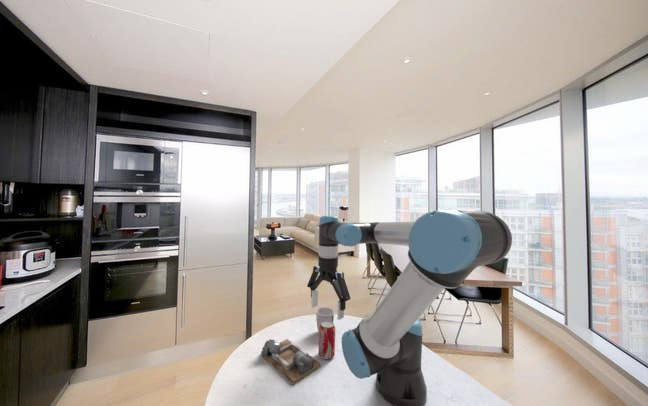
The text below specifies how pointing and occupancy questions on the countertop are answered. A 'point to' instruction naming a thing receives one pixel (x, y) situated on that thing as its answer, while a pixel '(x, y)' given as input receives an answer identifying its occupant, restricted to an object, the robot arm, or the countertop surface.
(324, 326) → the beverage can
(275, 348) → the shaft
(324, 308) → the cup
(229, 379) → the countertop surface
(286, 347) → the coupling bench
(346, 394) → the countertop surface
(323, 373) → the countertop surface
